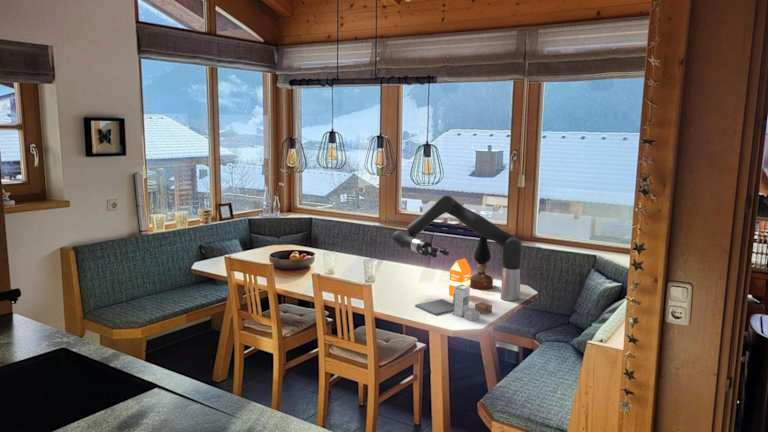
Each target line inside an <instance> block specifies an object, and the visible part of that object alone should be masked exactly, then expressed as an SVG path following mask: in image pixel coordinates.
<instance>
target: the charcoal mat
mask: <svg viewBox="0 0 768 432" xmlns="http://www.w3.org/2000/svg"><path fill="white" fill-rule="evenodd" d="M414 307H416V308H418V309H420V310H422V311H424V312H427V313H429V314H431V315H433V316H439V315H444V314H448V313H453V302H450V301H448V300H445V299H443V298H442V299H441V298H440V299H435V300H432V301H426V302H423V303H422V302H420V303H417V304H414Z"/></svg>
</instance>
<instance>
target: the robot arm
mask: <svg viewBox="0 0 768 432" xmlns="http://www.w3.org/2000/svg"><path fill="white" fill-rule="evenodd" d="M446 213H447V214H449V215H450V216H452V217H453V218H456V219H457V220H458V221H460V222H461V223H462V224H463V225H464V226H466V228H468V229H469V230H470V231H472V232H473V233H475V234H477V235H479V237H480V236H483V237H485V238H487V240H491V241H493V242H494V243H497V244H498V245H499V246H501V247H502V261H501V262H502V268H501V269H502V272H501V273H502V274H501V287H500V288H501V291H500V299H501V300H503V301H508V302H516V301H518V300H519V299H520V297H521V296H520V295H521V294H520V293H521V281H520V276H521V275H520V273H521V254H522V253H521V252H522V248H523V243H522V241H521V240H520V239H519V238H518V237H516V236H514V235H512V234H510V233H508V232H506V231H504V230H502V229H501V228H499V227H498V226H497V225H495V224H494V223H493V222H491V221H490V220H488V219H487V218H485V217H484V216H482V215H480V214H478V213H476V212H475V211H473V210H470V209H468V208H466V207H464V205H462V204H461V203H459V202H458V201H457V200H455V199H454V198H453V197H452V196H450V195H447V194H446V195H441V196H440V197H439V198H438V199H437V201H436V202H435V203H434V204H433V205H432V206H431V207H430V208H429V209H427V211H426V212H424V213H423V214H422V215H420V216H418V217H417V218H416V219H414V221H412V222H411V223H409V224H408V225H407V227H406V230H407V232H406V231H405V232H404V231H402V230H397V231H395V232H394V233H392V241H393V242H394V243H395V244H396V245H397V246H399V247H400V248H403V249H404V248H406V249H408V250H411V251H413V252H414V253H417V254H419V255H421V256H424V257H427V256H428V257H432V258H437V257H438V256H437V255H442V256H443V255H444V256H446V257H448V256H449V253H450V252H449V251H448V250H447V249H446V248H444V247H442V246H438V245H437V246H433V245H432V243H431V242H429V241H428V240H427V241H426V240H424V239H421V238H418V237H416V236H418V235H419V234H420V233H422V232H423V231H424V230H425V229H426V228H428V226H430V224H432V222H434V221H435V220H436V219H438V218H439V217H441V216H442V215H444V214H446Z"/></svg>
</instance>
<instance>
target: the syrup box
mask: <svg viewBox="0 0 768 432" xmlns="http://www.w3.org/2000/svg"><path fill="white" fill-rule="evenodd" d="M470 289H471V288H470V287H469V286H467V285H463V284H459V285H457V286H454V296H452V298H453V301H452V303H453V312H451V313H452V314H453V316H454V315H455V316H457V317H458V316H459V317H464V314H465V311H466V310H469V304H470V295H469V291H470Z"/></svg>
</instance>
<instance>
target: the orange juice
mask: <svg viewBox="0 0 768 432" xmlns="http://www.w3.org/2000/svg"><path fill="white" fill-rule="evenodd" d="M471 271H472V270H471V266H470V265H469V262H468V261H467V258H461V259H458V260H457V259H456V260H455V261H454V263H453V265H452V266H451V268H450V269H449V281H448V283H449V285H448V286H449V287H448V289H449V291H448V296H451V297H453V296H454V286H457V285H459V284H463V285H467V286H469V287H470V277H471ZM470 293H471V292H470V291H469V296H470V295H471V294H470Z"/></svg>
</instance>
